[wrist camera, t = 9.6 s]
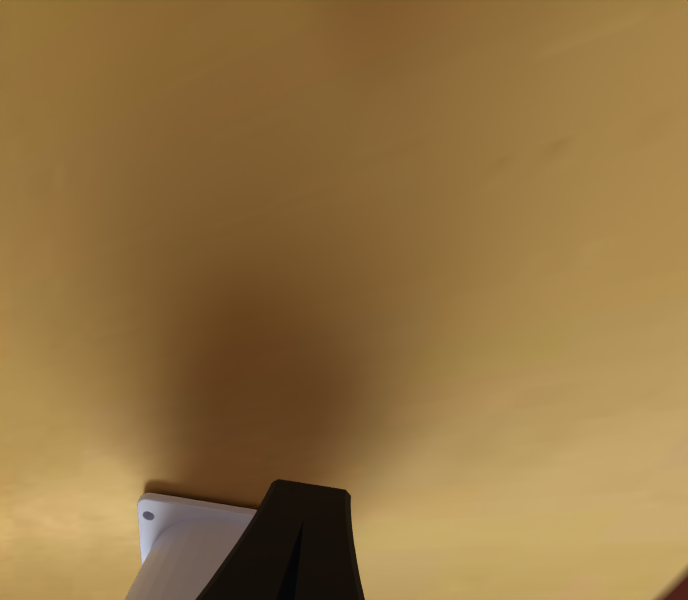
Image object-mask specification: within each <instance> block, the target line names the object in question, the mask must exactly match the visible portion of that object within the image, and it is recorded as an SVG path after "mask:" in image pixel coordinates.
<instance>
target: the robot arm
mask: <svg viewBox="0 0 688 600" xmlns="http://www.w3.org/2000/svg"><path fill="white" fill-rule="evenodd" d="M137 508H138V521H139V535H140V549H141V562H142V567H141V569H140V571H139V573H138V575H137V576H136V578H135V580H134V582H133V584H132V586H131V588H130V590H129V592H128V594H127V596H126V598H125V600H365V598H364V594H363V590H362V585H361V581H360V575H359V570H358V565H357V559H356V553H355V546H354V540H353V532H352V522H351V495H350V494H349V493H348V492H347V491H346V490H344V489H337V488H331V487H325V486H318V485H312V484H306V483H300V482H293V481H287V480H281V479H278V480H276V481H274V482H273V483H272V484H271V486H270V488H269V490H268V492H267V494H266V496H265V497H264V499H263V501H262V503H261V505H260V506H259V508H258V510H256V509H249V508H243V507H237V506H231V505H225V504H218V503H212V502H206V501H200V500H193V499H187V498H181V497H175V496H169V495H162V494H156V493H145V494H143V495H142V496H141V497H140V499H139V501H138V504H137Z"/></svg>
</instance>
